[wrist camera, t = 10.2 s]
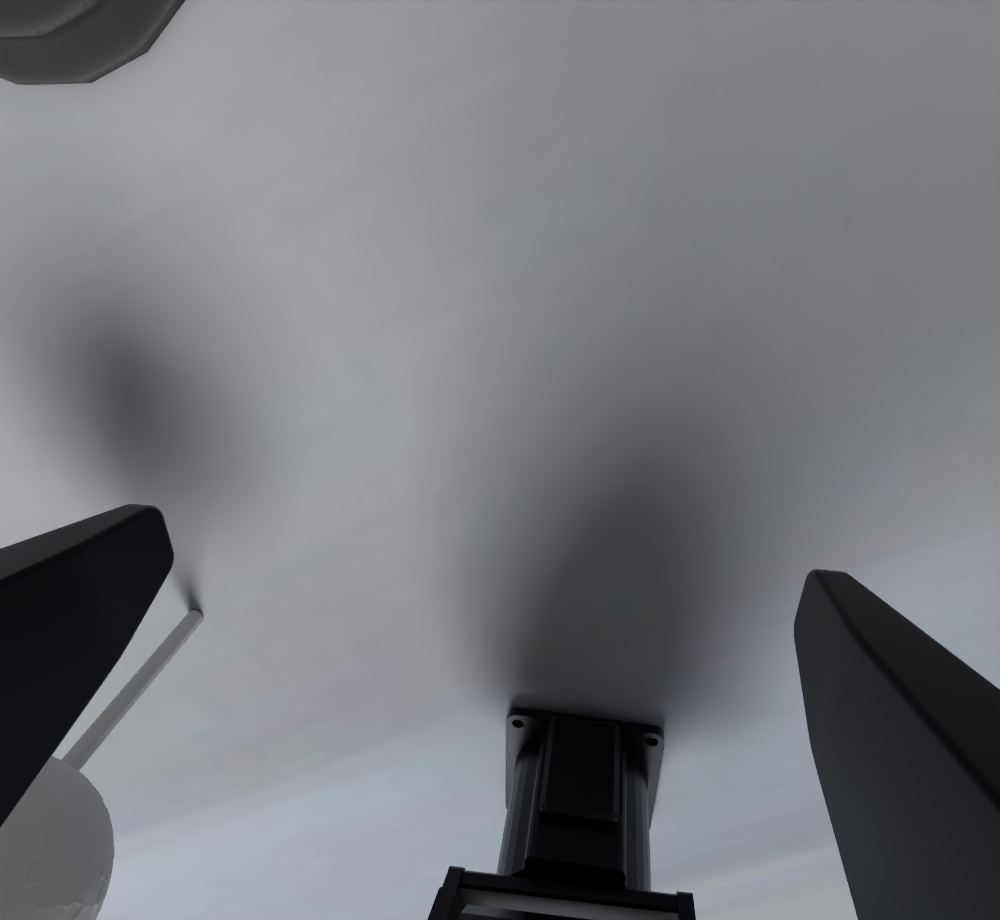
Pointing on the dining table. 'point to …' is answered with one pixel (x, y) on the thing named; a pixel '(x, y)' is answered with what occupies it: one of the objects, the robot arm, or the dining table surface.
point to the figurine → (76, 37)
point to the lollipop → (71, 818)
